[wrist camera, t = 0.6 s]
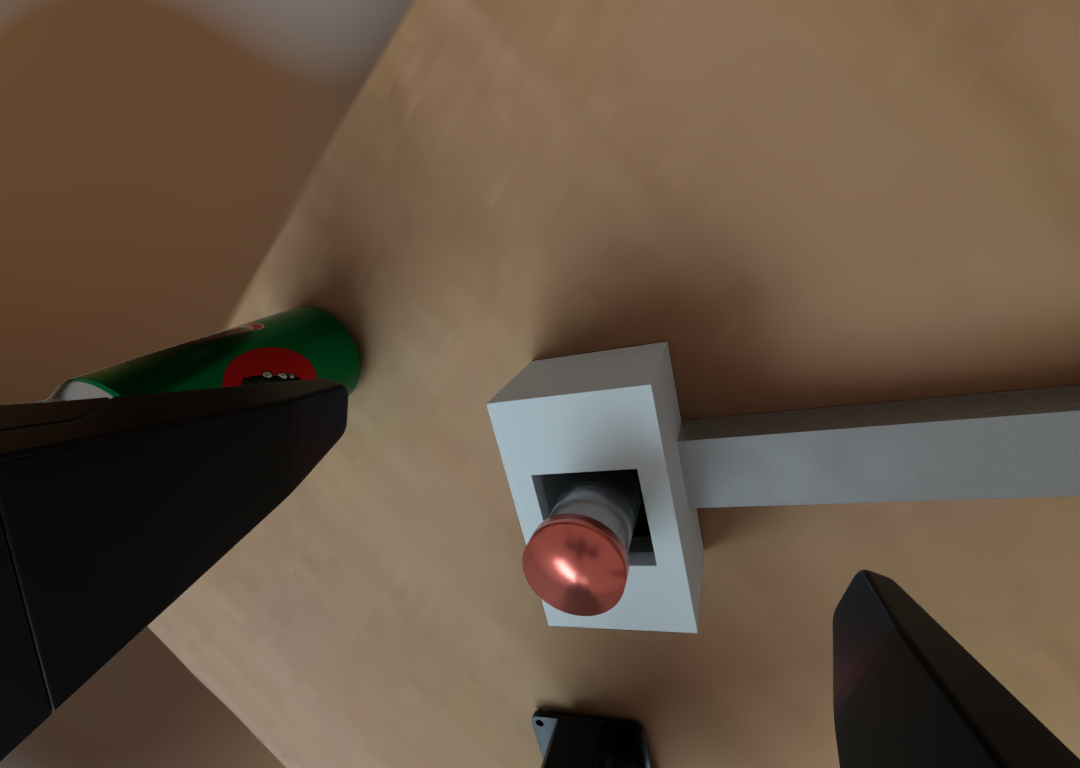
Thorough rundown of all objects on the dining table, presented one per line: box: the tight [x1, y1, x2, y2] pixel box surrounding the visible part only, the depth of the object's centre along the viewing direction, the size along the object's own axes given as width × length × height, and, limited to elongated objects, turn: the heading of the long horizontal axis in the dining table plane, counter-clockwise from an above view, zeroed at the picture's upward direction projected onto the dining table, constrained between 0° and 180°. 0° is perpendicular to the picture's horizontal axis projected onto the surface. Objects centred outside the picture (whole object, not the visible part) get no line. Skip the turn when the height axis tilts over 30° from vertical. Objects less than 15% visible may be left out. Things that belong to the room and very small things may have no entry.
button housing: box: [487, 342, 704, 633], centre depth 22 cm, size 10×6×5 cm, turn 14°
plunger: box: [522, 469, 642, 616], centre depth 20 cm, size 3×3×5 cm
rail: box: [677, 385, 1080, 508], centre depth 19 cm, size 3×22×2 cm, turn 104°
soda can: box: [38, 306, 360, 403], centre depth 23 cm, size 5×5×12 cm
